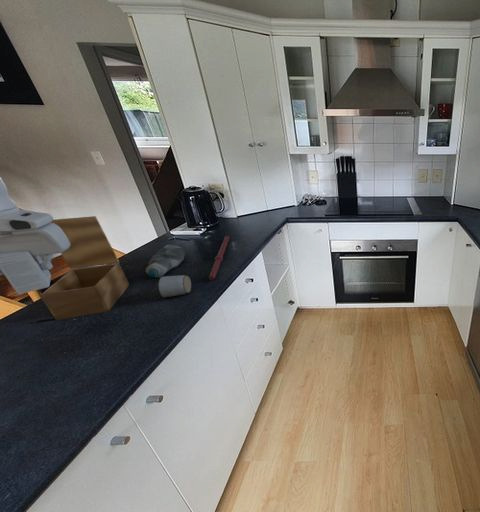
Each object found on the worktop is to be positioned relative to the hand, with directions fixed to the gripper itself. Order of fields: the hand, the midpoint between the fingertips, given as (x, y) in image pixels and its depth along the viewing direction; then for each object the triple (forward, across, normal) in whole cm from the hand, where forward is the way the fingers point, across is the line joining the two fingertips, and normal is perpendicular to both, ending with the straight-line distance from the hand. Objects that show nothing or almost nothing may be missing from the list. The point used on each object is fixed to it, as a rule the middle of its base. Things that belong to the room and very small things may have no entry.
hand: (27, 271), depth 71 cm
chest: (+23, -2, +20) cm, 31 cm away
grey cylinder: (+23, +24, +17) cm, 37 cm away
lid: (+3, -2, +28) cm, 29 cm away
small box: (+4, 0, 0) cm, 4 cm away
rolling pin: (+23, +36, +44) cm, 61 cm away
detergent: (+23, +14, +40) cm, 49 cm away
